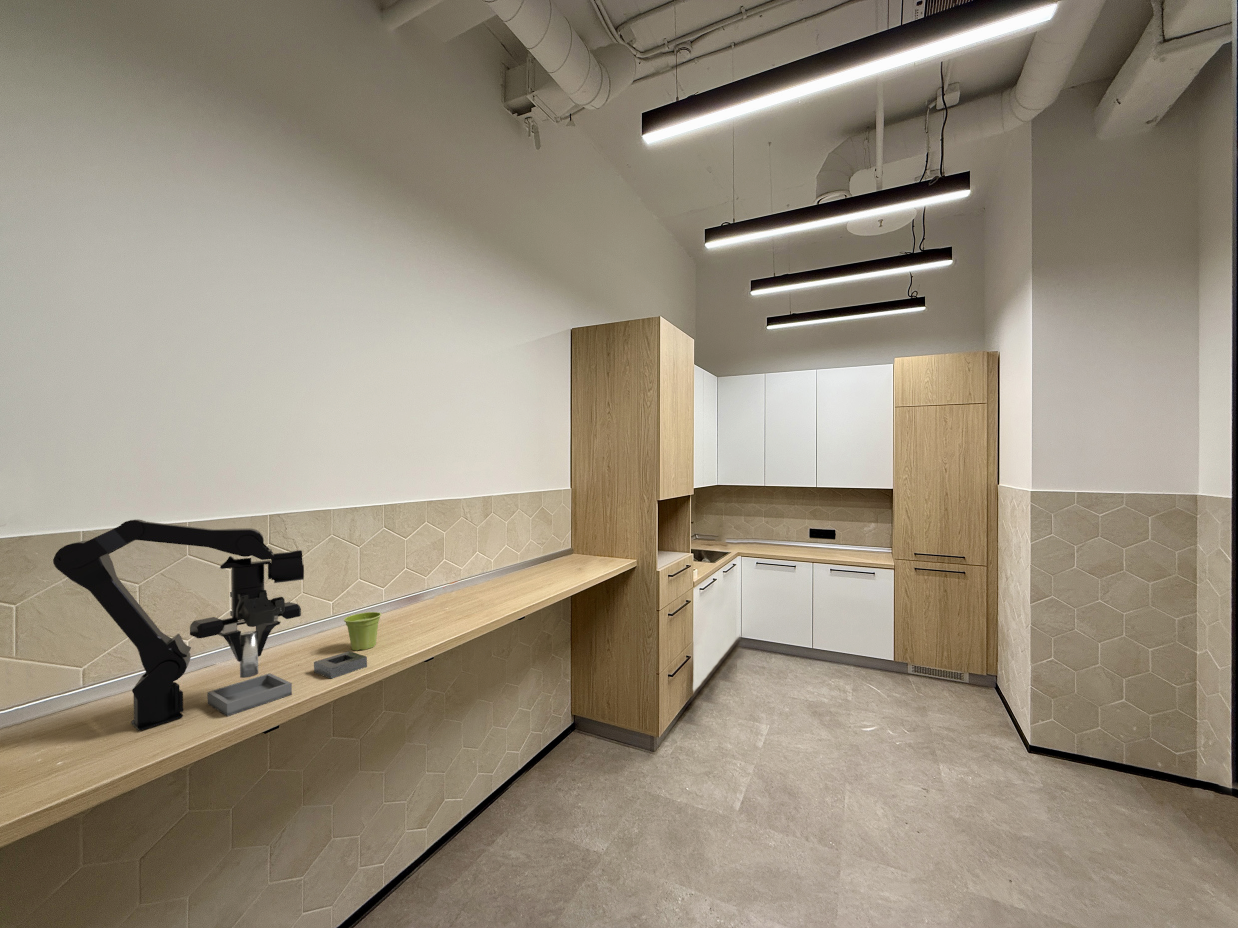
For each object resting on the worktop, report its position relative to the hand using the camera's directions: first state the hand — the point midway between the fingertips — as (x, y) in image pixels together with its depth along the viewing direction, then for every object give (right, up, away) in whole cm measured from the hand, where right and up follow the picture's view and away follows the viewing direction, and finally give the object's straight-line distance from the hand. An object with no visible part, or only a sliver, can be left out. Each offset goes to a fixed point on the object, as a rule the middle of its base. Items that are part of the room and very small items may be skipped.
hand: (249, 658), depth 107 cm
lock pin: (0, -4, 0) cm, 4 cm away
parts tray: (0, -9, 0) cm, 9 cm away
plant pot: (+8, -10, +32) cm, 34 cm away
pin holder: (+11, -9, +15) cm, 21 cm away
